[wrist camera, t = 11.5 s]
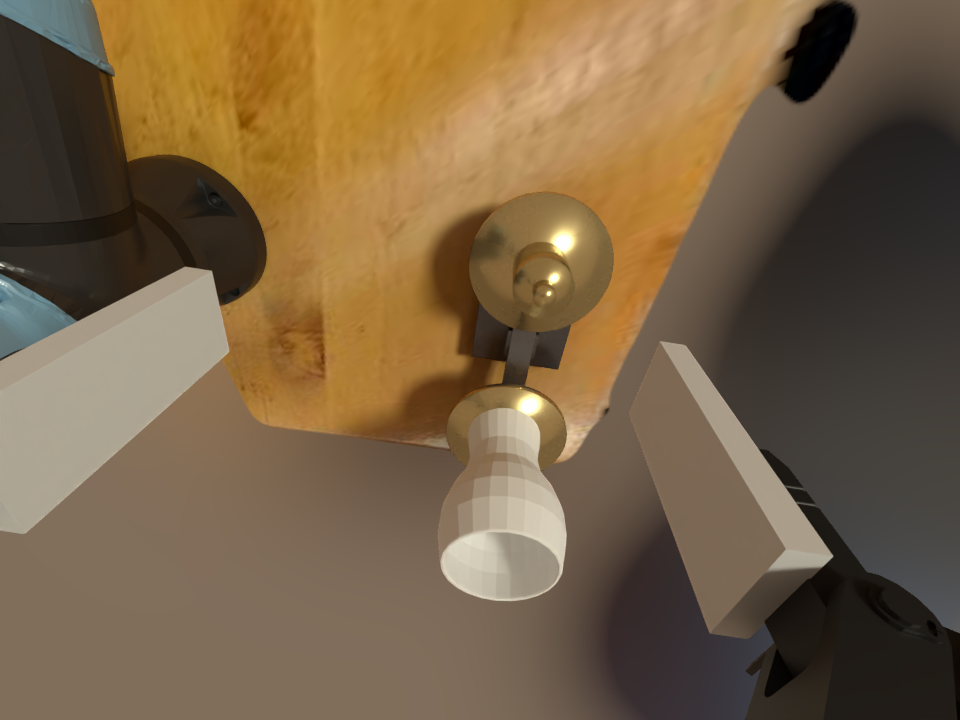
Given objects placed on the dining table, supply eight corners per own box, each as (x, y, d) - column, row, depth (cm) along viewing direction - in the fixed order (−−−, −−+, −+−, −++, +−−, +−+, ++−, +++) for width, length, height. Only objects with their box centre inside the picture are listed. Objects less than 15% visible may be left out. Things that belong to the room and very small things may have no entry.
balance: (450, 419, 56) (436, 494, 45) (483, 171, 39) (472, 197, 29) (546, 434, 56) (553, 511, 45) (619, 193, 39) (657, 227, 29)
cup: (466, 473, 48) (450, 607, 36) (444, 402, 43) (416, 529, 30) (558, 465, 47) (575, 602, 34) (547, 390, 41) (563, 519, 28)
